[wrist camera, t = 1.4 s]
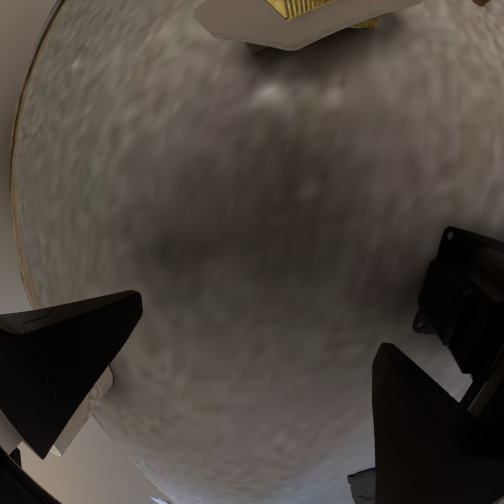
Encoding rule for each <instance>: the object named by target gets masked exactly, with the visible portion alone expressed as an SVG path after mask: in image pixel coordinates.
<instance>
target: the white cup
mask: <svg viewBox="0 0 504 504" xmlns="http://www.w3.org/2000/svg"><path fill="white" fill-rule="evenodd" d="M112 383H113V374H112V372H111V370H110V367H109V366H108V367H107V368H106V370H105V371H104V372H103V374H102V375H101V377H100V378H99V379H98V381H97V382H96V383H95V385H94V386H93V388H92V389H91V390H90V392H89V393H88V395H87V396H86V397H85V399H84V400H83V402H82V403H81V404H80V406H79V407H78V409H77V410H76V412H75V413H74V415H73V416H72V417H71V419H70V420H69V422H68V424H67V425H66V426H65V428H64V429H63V431H62V432H61V434H60V435H59V437H58V438H57V440H56V442H55V443H54V445H53V446H52V448H51V449H50V451H51V452H52V453H54V454H55V455H57V456H60V457H61V456H62V455H63V453H64V452H65V450H66V449H67V447H68V446H69V445H70V443H71V442H72V440H73V439H74V438H75V436H76V435H77V434H78V432H79V431H80V430H81V428H82V427H83V425H84V424H85V423H86V421H87V420H88V418H89V417H90V415H91V414H92V412H93V411H94V410H95V409H96V407H97V405H98V403H99V401H100V400H101V399H102V397H103V396H104V395H105V394H106V392H107V391H108V390H109V388H110V387H111V386H112Z"/></svg>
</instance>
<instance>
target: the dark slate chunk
mask: <svg viewBox="0 0 504 504" xmlns="http://www.w3.org/2000/svg"><path fill="white" fill-rule="evenodd" d="M347 477H348V478H347V479H348V483H349V484H350V485H351V487H350V488H351V491H352V497H353V499H354V502H355V504H375V469H368V470H366V471H362V472H358V473H356V474H354V475H348V476H347Z"/></svg>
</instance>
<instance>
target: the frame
mask: <svg viewBox="0 0 504 504" xmlns="http://www.w3.org/2000/svg"><path fill="white" fill-rule="evenodd" d="M488 1H490V0H473V2H475V3H477V4H479V5H480V6H484V5H485V4H486V3H487V2H488Z"/></svg>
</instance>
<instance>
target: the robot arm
mask: <svg viewBox="0 0 504 504" xmlns="http://www.w3.org/2000/svg"><path fill="white" fill-rule="evenodd" d="M450 231H452V232H453V238H452V239H451V240H448V238H447V235H448V233H449V232H450ZM418 304H419V306H420V308H419V310H418V313H417V315H416V318H415V320H414V322H413V326H412V327H413V330H414V331H415V332H417V333H424V334H435V335H437V336H438V337H439V339H440V341H441V342H442V344H443V345H444V346H447V347H448V349H449V350H450V352H451V354H452V356H453V357H454V359H455V361H456V363H457V365H458V367H459V368H460V370H461V372H462V373H463V374H470V376H471V378H472V380H473V382H472V384H471V385H470V387H469V389H468V390H467V392H466V393H465V395H464V396H463V398H462V400H461V401H460V403H459V402H457V401H456V400H455V399H454V398H453V397H452V396H450V394H449V393H448V392H446V391H445V390H444V389H443V388H442V387H441V386H440V385H439V384H438V383H437V382H435V381H434V380H433V379H432V378H431V377H430V376H429V375H428V374H427V373H425V372H424V371H423V370H422V369H421V368H420V367H419V366H418V365H417V364H415V363H414V362H413V361H412V360H411V359H410V358H409V357H408V356H406V355H405V354H404V353H403V352H402V351H401V350H400V349H398V348H397V347H396V346H395V345H394V344H392V343H382V344H381V345H380V347H379V349H378V351H377V354H376V356H375V358H374V360H373V364H372V409H373V422H374V439H375V504H504V242H501V241H498V240H495V239H492V238H489V237H486V236H483V235H479V234H476V233H473V232H470V231H466V230H463V229H460V228H456V227H453V226H449V227H447V228H446V229H445V230H444V232H443V235H442V239H441V243H440V247H439V250H438V254H437V257H436V259H434V260H433V261H432V262H431V264H430V267H429V270H428V273H427V277H426V280H425V283H424V286H423V288H422V291H421V294H420V297H419V300H418ZM142 313H143V308H142V297H141V294H140V293H139V292H137V291H134V290H128V291H123V292H119V293H114V294H110V295H105V296H100V297H96V298H91V299H86V300H82V301H77V302H72V303H68V304H63V305H58V306H56V307H55V306H53V307H48V308H43V309H38V310H32V311H26V312H19V313H10V314H3V315H0V504H62V503H61V502H59V501H58V500H57V499H55V498H54V497H53V496H52V495H50V494H49V493H48V492H47V491H46V490H44V489H43V488H42V487H41V486H40V485H39V484H37V482H35V481H34V480H33V479H32V478H31V477H30V476H29V475H28V474H27V473H26V472H25V471H24V470H23V469H22V467H21V456H20V450H19V449H18V448H17V446H18V445H19V444H20V443H21V441H23V442H24V443H25V444H26V445H27V446H28V447H29V448H30V449H31V450H32V451H33V452H34V453H35V454H36V455H37V456H39V457H40V458H41V459H42V460H43V459H44V458H45V457H46V455H47V454H48V452H49V451H50V449H51V448H52V446H53V445H54V443H55V442H56V440H57V438H58V437H59V435H60V434H61V432H62V431H63V429H64V428H65V426H66V425H67V424H68V422H69V420H70V419H71V417H72V416H73V415H74V413H75V412H76V410H77V409H78V407H79V406H80V404H81V403H82V402H83V400H84V399H85V397H86V396H87V395H88V393H89V392H90V390H91V389H92V388H93V386H94V385H95V383H96V382H97V381H98V379H99V378H100V377H101V375H102V374H103V372H104V371H105V370H106V368H107V367H108V366H109V364H110V363H111V362H112V360H113V359H114V358H115V356H116V355H117V354H118V352H119V351H120V350H121V348H122V347H123V346H124V344H125V343H126V341H127V339H128V338H129V336H130V334H131V333H132V331H133V330H134V328H135V326H136V325H137V323H138V321H139V320H140V318H141V316H142ZM420 322H423V326H422V327H421V328H417V325H418V323H420Z"/></svg>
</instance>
